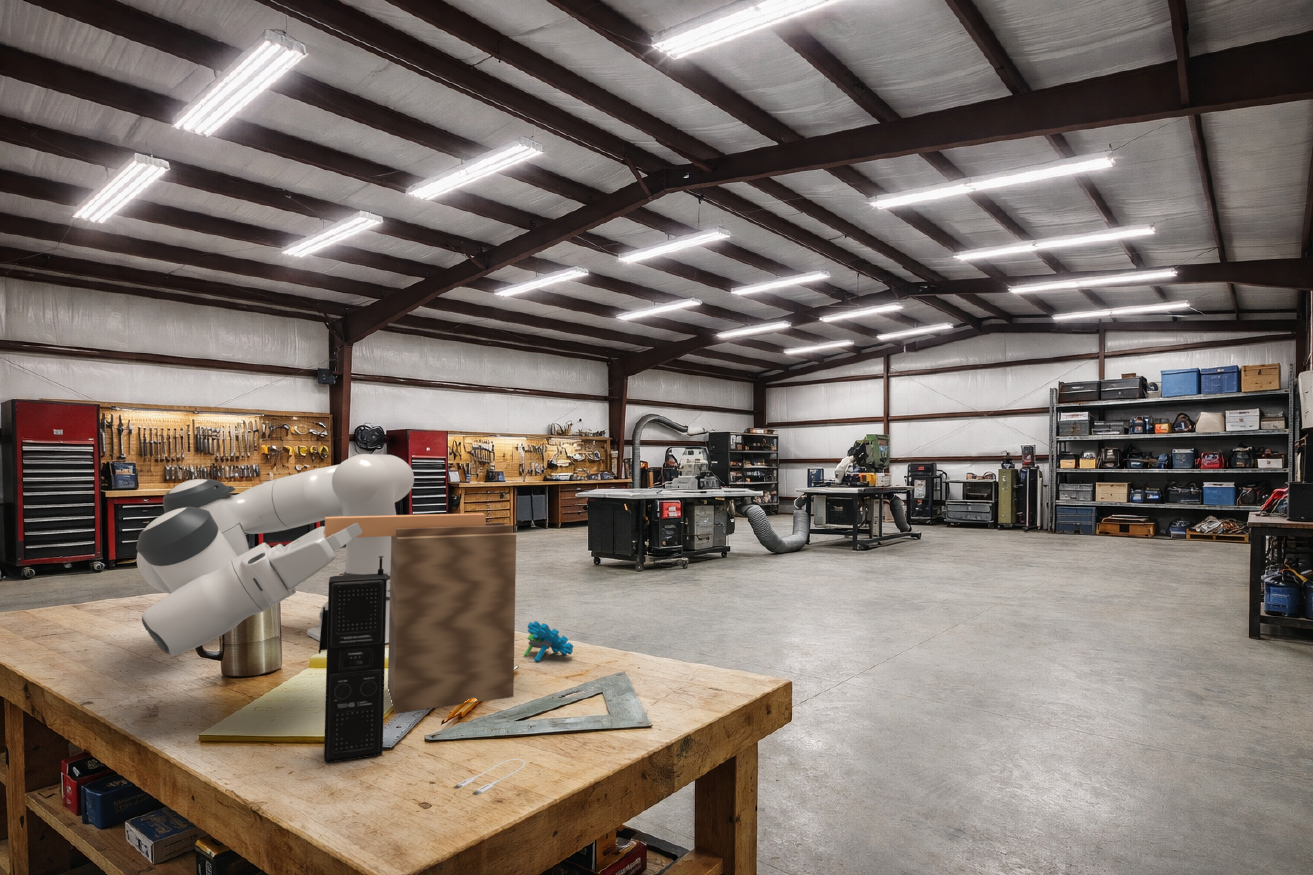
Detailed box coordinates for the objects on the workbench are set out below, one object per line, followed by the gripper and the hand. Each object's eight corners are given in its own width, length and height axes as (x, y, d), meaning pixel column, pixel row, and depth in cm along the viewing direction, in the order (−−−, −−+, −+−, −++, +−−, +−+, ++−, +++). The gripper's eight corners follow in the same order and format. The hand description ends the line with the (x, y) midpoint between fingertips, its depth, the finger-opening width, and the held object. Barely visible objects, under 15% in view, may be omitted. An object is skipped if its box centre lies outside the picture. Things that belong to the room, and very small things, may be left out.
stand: (394, 713, 103) (398, 530, 104) (387, 689, 114) (391, 524, 115) (513, 696, 111) (516, 527, 112) (496, 675, 122) (499, 521, 123)
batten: (324, 538, 104) (325, 518, 104) (324, 536, 106) (325, 516, 106) (485, 532, 114) (485, 514, 114) (481, 530, 117) (482, 513, 117)
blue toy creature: (584, 650, 132) (552, 618, 128) (568, 678, 129) (534, 646, 125) (550, 647, 140) (519, 617, 136) (534, 673, 136) (501, 642, 132)
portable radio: (314, 767, 85) (320, 563, 86) (317, 748, 90) (322, 557, 91) (383, 756, 88) (387, 560, 89) (381, 739, 94) (386, 554, 94)
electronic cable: (452, 789, 80) (452, 785, 80) (509, 758, 89) (509, 755, 89) (477, 798, 78) (478, 793, 78) (534, 765, 87) (534, 761, 87)
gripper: (284, 580, 112) (365, 534, 117) (276, 604, 93) (373, 549, 99) (262, 547, 110) (345, 502, 116) (251, 565, 92) (350, 511, 97)
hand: (358, 524), depth 107 cm, fingers open, 8 cm apart
